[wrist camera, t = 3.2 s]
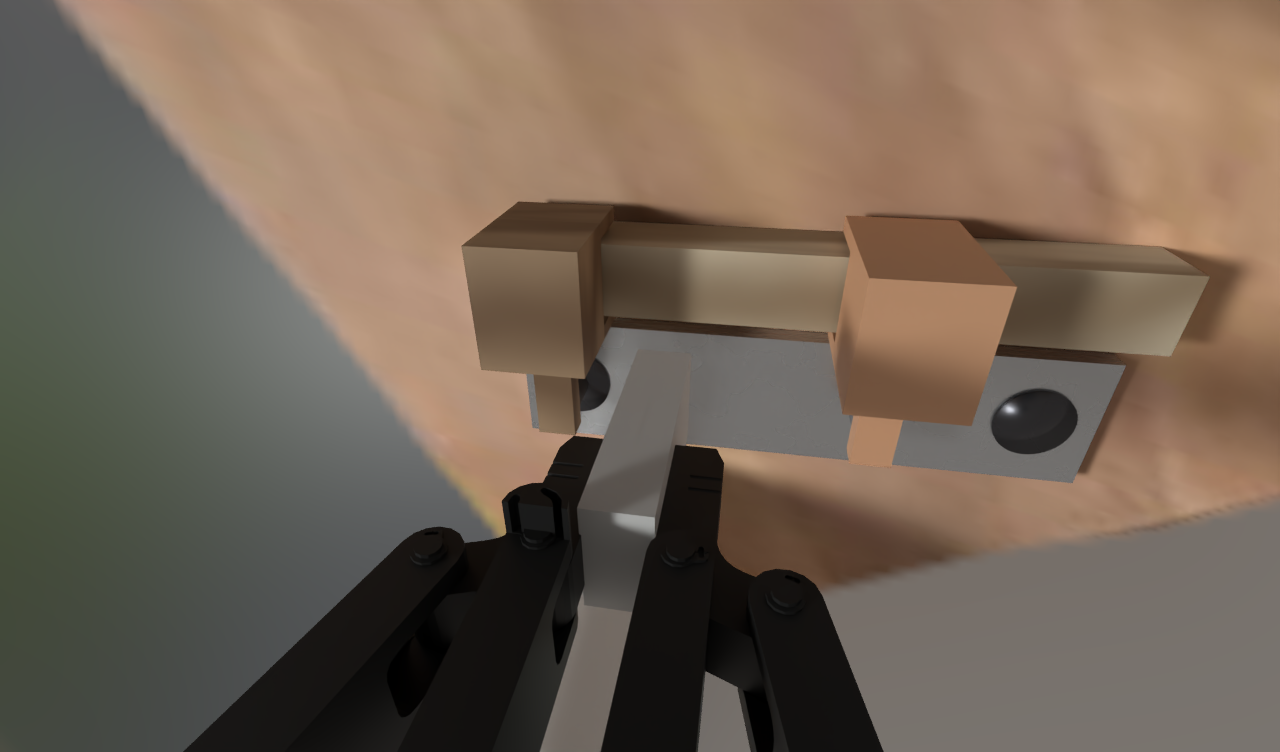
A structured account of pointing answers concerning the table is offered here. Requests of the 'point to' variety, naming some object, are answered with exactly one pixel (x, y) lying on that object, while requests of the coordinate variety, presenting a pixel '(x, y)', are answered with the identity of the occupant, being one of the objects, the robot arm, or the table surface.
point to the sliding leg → (914, 329)
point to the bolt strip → (814, 424)
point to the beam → (817, 266)
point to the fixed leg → (541, 301)
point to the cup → (588, 681)
